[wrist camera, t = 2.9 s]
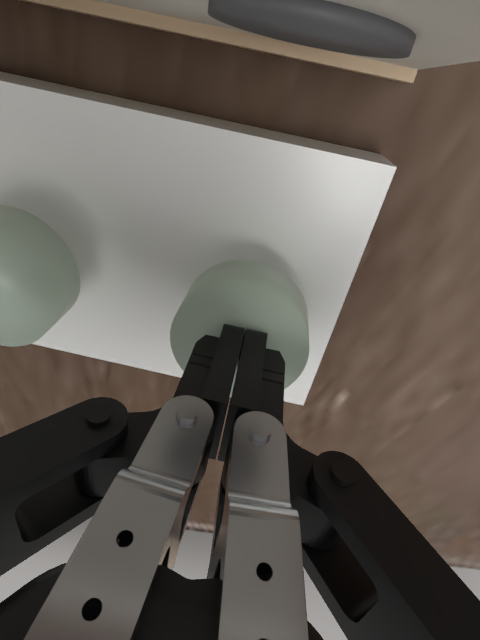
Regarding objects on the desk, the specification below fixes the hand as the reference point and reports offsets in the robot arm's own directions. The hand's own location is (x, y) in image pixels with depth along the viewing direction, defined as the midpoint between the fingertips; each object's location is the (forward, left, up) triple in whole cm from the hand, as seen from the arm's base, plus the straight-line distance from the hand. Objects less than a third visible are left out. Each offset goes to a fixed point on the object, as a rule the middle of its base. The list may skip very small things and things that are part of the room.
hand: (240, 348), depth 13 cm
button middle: (-9, 0, -2) cm, 9 cm away
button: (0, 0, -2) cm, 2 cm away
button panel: (-9, 0, -7) cm, 12 cm away
